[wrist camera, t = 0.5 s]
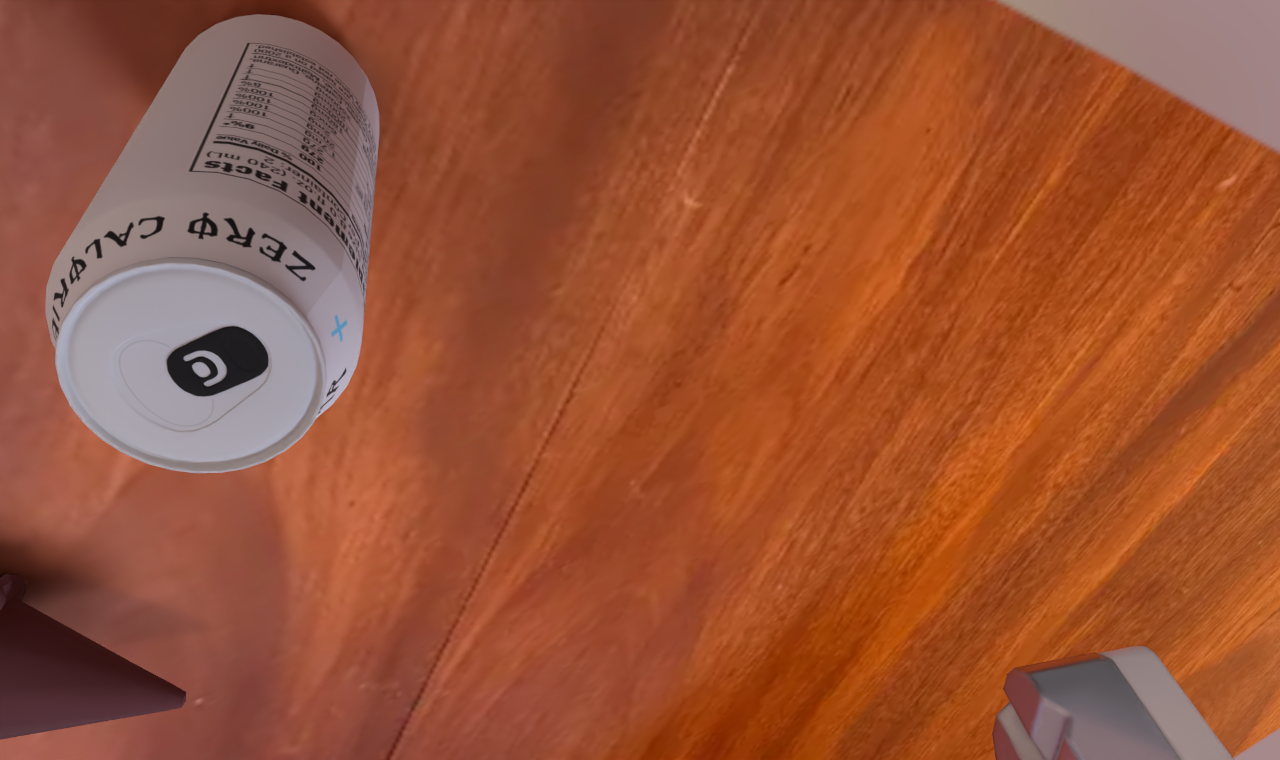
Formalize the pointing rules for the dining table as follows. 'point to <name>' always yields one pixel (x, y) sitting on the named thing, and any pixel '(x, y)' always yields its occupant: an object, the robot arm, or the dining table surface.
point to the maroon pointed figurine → (65, 674)
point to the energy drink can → (224, 254)
